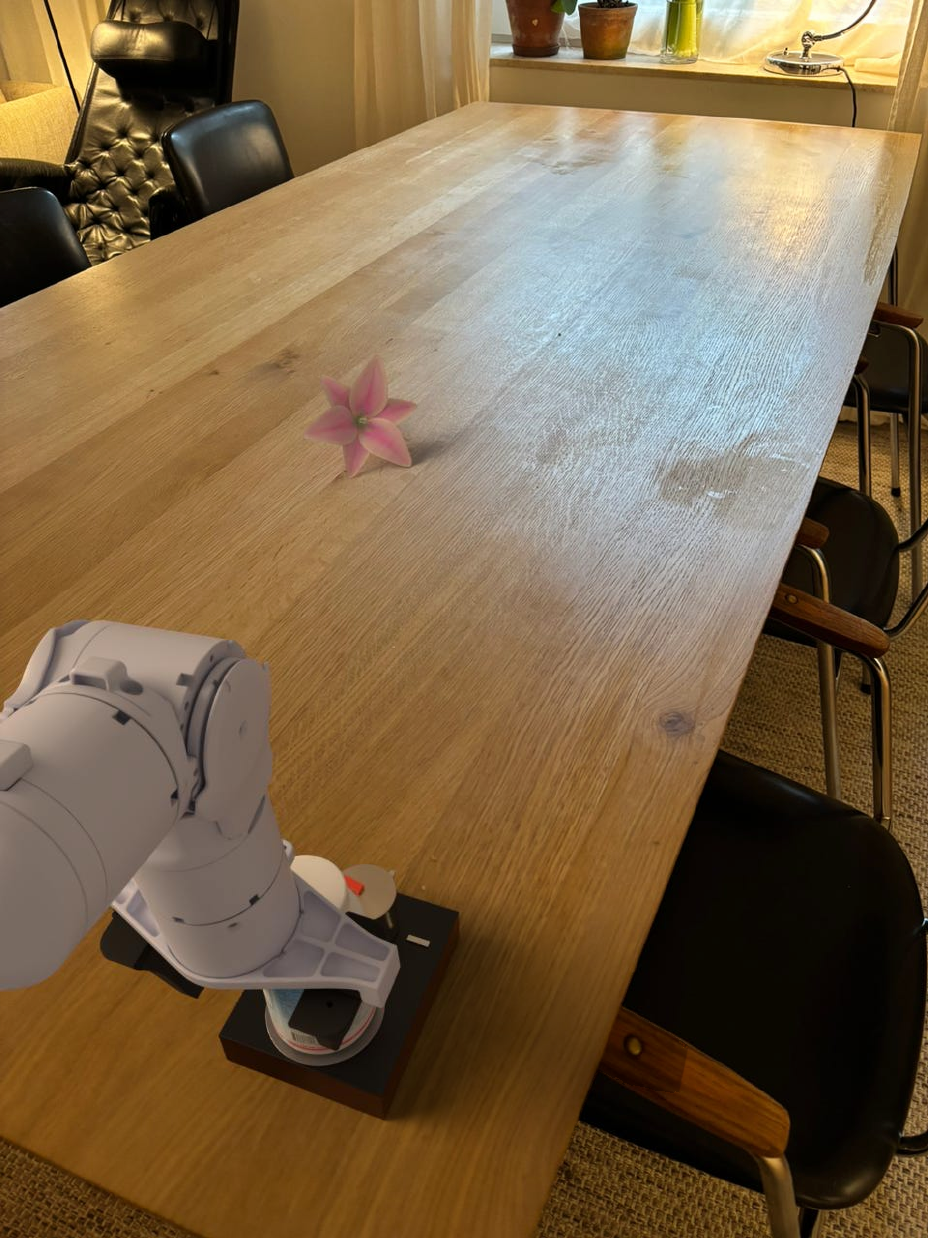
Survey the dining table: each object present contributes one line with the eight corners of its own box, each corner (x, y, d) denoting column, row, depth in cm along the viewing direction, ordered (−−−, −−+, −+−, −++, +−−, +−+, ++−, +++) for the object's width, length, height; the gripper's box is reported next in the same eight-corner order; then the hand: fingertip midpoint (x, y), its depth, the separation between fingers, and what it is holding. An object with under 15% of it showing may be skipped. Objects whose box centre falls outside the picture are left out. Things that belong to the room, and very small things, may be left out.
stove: (384, 1121, 55) (380, 1096, 53) (226, 1060, 58) (217, 1033, 55) (467, 921, 64) (466, 893, 62) (328, 876, 67) (323, 848, 65)
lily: (290, 481, 106) (303, 430, 98) (307, 393, 111) (321, 338, 103) (399, 507, 109) (420, 459, 100) (411, 420, 114) (432, 368, 105)
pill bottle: (398, 990, 57) (386, 875, 50) (333, 1079, 53) (310, 970, 46) (316, 940, 60) (293, 824, 52) (248, 1022, 56) (213, 909, 49)
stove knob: (412, 914, 61) (409, 878, 59) (375, 965, 59) (371, 930, 56) (358, 886, 63) (353, 850, 60) (321, 935, 60) (314, 899, 58)
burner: (354, 1085, 53) (354, 1083, 53) (243, 1043, 55) (243, 1041, 55) (403, 975, 58) (403, 973, 58) (300, 940, 60) (299, 938, 60)
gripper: (417, 828, 40) (435, 976, 50) (114, 736, 44) (185, 890, 54) (344, 989, 35) (379, 1118, 45) (12, 871, 39) (110, 1013, 49)
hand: (269, 1003), depth 49 cm, fingers open, 7 cm apart
